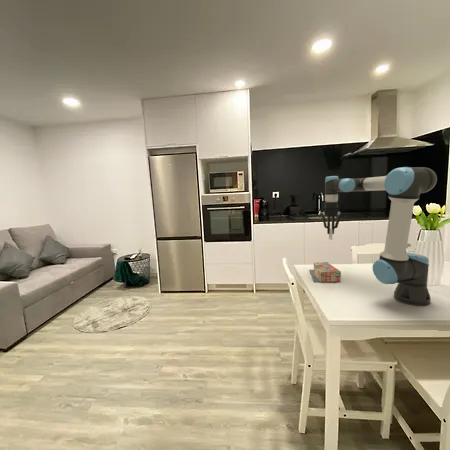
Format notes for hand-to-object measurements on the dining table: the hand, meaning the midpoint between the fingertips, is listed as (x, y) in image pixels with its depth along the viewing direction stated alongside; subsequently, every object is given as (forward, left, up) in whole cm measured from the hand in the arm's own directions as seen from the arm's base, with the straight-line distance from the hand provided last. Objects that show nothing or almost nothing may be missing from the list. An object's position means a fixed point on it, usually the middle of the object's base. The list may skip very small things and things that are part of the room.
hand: (330, 239), depth 170 cm
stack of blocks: (0, -2, -21) cm, 21 cm away
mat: (0, +5, -24) cm, 25 cm away
